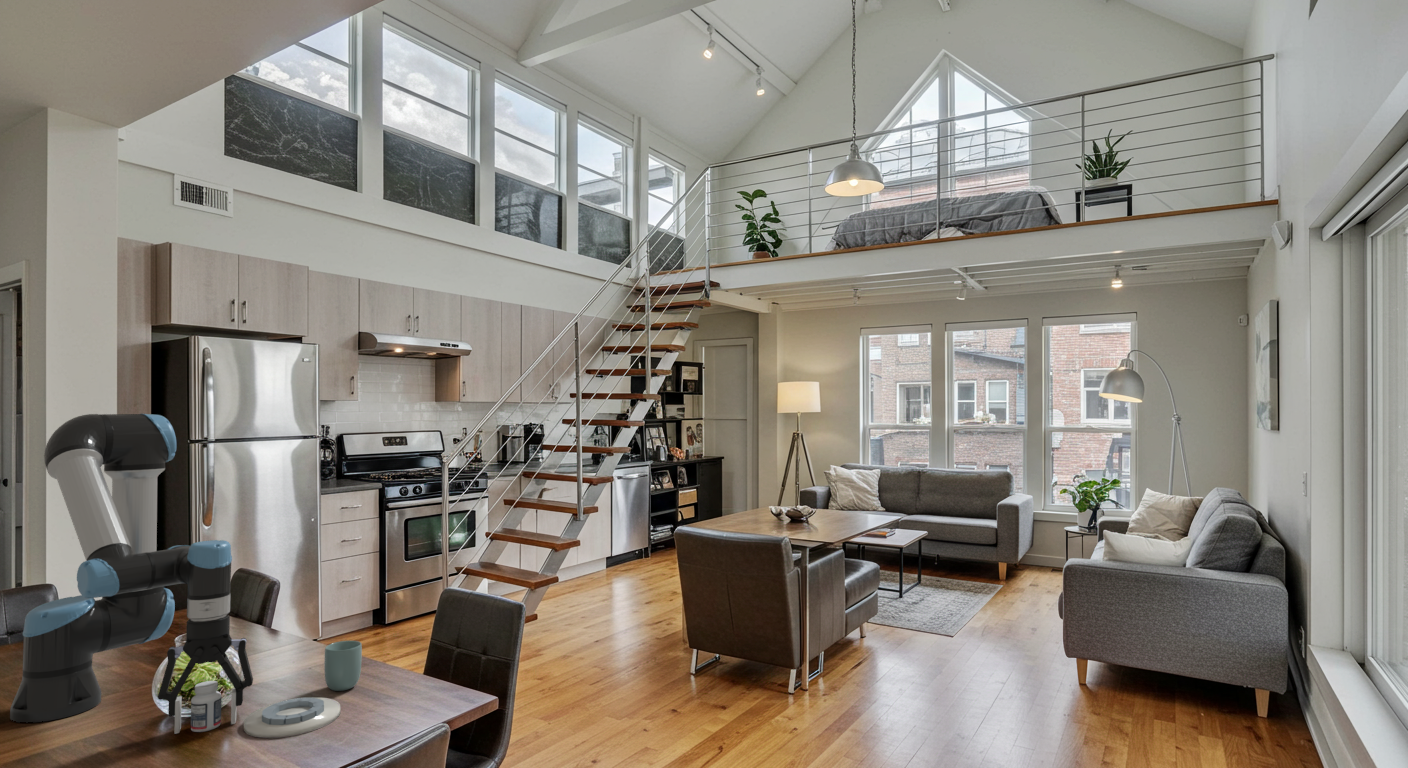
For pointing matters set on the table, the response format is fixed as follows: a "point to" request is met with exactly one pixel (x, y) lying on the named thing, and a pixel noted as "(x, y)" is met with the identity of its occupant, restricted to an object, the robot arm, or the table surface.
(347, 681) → the cup
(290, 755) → the table surface
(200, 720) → the pill bottle
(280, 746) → the table surface
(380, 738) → the table surface
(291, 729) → the tray
